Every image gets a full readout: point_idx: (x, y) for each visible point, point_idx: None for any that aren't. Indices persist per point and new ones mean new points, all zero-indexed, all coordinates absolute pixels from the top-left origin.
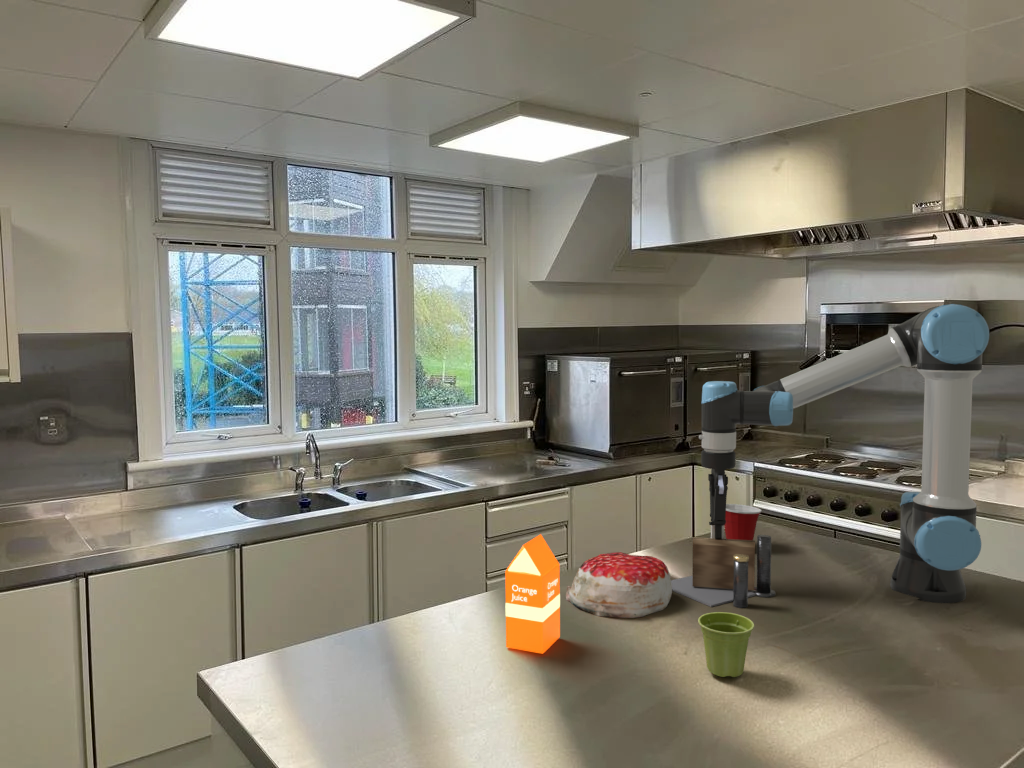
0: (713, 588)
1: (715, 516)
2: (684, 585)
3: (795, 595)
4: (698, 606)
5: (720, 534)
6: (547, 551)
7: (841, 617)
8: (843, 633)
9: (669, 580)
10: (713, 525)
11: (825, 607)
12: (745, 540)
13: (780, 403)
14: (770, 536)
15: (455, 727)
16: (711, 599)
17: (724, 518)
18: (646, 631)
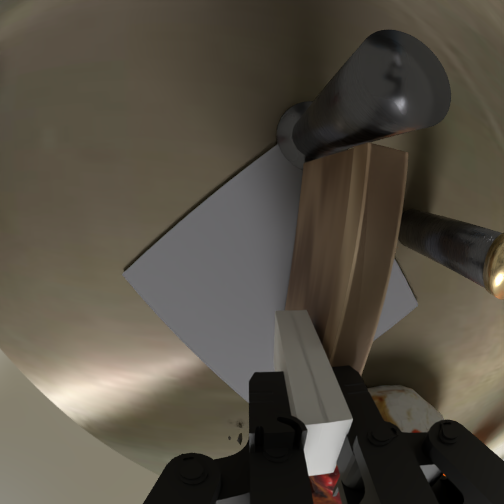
0: None
1: (458, 499)
2: (273, 362)
3: (313, 52)
4: (408, 329)
5: (364, 392)
6: None
7: (437, 26)
8: (499, 71)
9: (413, 417)
10: (334, 462)
11: (390, 23)
12: (372, 211)
13: None
14: (395, 32)
15: None
16: (384, 301)
17: (485, 452)
18: (475, 389)
